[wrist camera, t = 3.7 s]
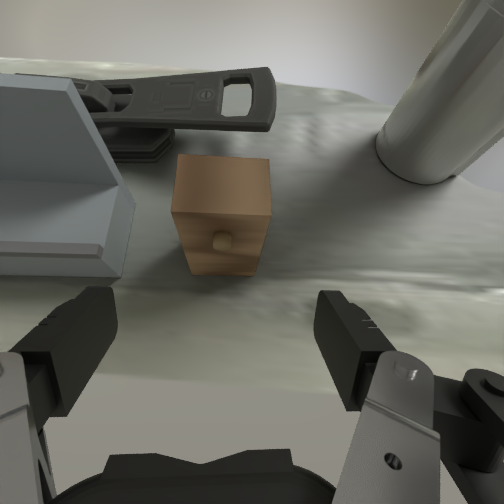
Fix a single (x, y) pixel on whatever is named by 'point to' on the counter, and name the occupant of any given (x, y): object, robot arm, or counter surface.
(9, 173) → the board
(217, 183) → the cabinet
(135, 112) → the zipper pull
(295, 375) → the counter surface
